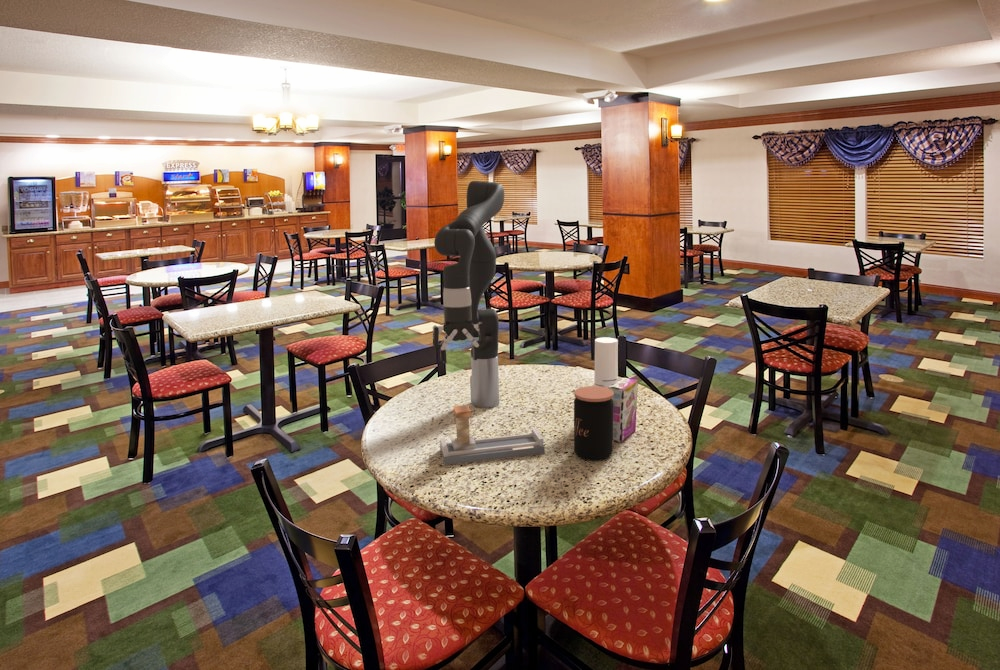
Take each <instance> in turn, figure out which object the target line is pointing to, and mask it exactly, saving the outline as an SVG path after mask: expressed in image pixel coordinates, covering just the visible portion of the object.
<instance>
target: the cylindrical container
mask: <svg viewBox="0 0 1000 670" xmlns="http://www.w3.org/2000/svg"><path fill="white" fill-rule="evenodd" d="M618 345H619V340H618V338H615V337H614V338H613V337H609V336H607V337H604V336H603V337H597V338H595V339H594V385H593V386H598V387H605V388H608V387H609V386H611V385H612V384H614V383H616V382H617V381H618V356H619V355H618V351H619V349H618V348H619V347H618Z"/></svg>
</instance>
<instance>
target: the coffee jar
mask: <svg viewBox="0 0 1000 670" xmlns="http://www.w3.org/2000/svg"><path fill="white" fill-rule="evenodd" d="M573 393H574V397H575V398H574V399H573V400H574V401H573V451H574V453H575V455H576V456H577V457H578V458H579V459H581V460H585V461H590V462H592V461H593V462H599V461H603V460H606V459H608V458H610V456H611V455H612V453H613V451H614V450H613V449H614V447H613V446H614V441H613V410H614V402H613V399H612V398H613V396H614V393H613V391H612V390H610V389H608V388H605V387H598V386H594V385H590V386H589V385H587V386H582V387H577V388H576V389H575V390H574V391H573Z"/></svg>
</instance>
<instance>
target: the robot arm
mask: <svg viewBox="0 0 1000 670" xmlns="http://www.w3.org/2000/svg"><path fill="white" fill-rule="evenodd" d="M467 185H468V186H467V189H466V208H465V209H463V211H461V212H460V213H459V214H458V216H457V217H456V218H455V220H453V221H452V222H450V223H448V224H446V225H444V226H443V227H441V228H440V229H439V230H438V231H437V233H436V235H435V237H434V241H433V242H434V244H433V245H434V249H435V250H436V252H437V253H438V254H439V255H440V256H444V257H453V256H454V257H456V256H457V257H459V259H458V261H457V262H456V263H453V264H448V265H445V266H444V267H443V269H442V276H443V277H442V279H443V280H442V281H443V292H442V293H443V294H442V295H443V296H442V297H443V298H442V299H443V316H444V317H443V321H444V322H443V323H444V324H443V325H442V326H441V325H439V326H437V325H433V326H432V347H433V348H434V349H438V350H439V353H440V354H439V356H440V361H441V362H442V363H443V364H447V350H446V348H447V347H448V345H449V344H450V343H451V342H452V341H453V342H457V341H465V340H467V339H468V340H469V341H470V342H471V344H472V346H471V349H470V362H471V363H470V364H471V376H470V377H469V382H470V383H469V384H470V388H469V389H470V403H471V402H472V403H471V404H472V405H473V406H474V407H477V408H480V407H481V408H482V409H486V408H487V409H488V408H489V407H490V408H493V407H496V406H498V405H499V404H500V383H499V382H500V379H499V352H498V351H499V333H500V332H499V329H500V326H499V323H500V322H499V314H498V313H497V311H496V309H494V308H484V309H482V308H481V309H479V305H480V301H481V298H482V297H483V295H484V293H485V292H486V290H487V288H489V286H490V285H491V283H492V281H493V279H494V277H495V275H496V268H497V267H496V266H497V254H496V250H495V247H494V246H493V243H492V242H491V240H490V238H489V236H488V235H487V233H486V232H485V230H484V229H485V228H484V227H483V226H484V225H485V224H486V223H488V222H489V221H490V220H491V219H492V218H494V217H495V216H496V215H498V214H499V212H500V211H501V210H502V208H503V206H504V202H505V189H504V187H503V185H502V184H501V183H499V182H494V181H482V180H472V181H470V182H469V184H467ZM442 332H444V333H445V335H444V337H443V338H442V341H441V343H439V339H440V338H439V335H441V334H442ZM475 338H478V339H477V340H476V339H475ZM490 408H489V409H490Z"/></svg>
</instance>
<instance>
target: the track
mask: <svg viewBox="0 0 1000 670" xmlns="http://www.w3.org/2000/svg"><path fill="white" fill-rule="evenodd" d="M473 439H474V438H473ZM474 441H475V443H476V449H469V450H461V451H454V450H453V448H452V441H448V442H446V439H445V438H443V437H442V438H440V439H439V447H440V449H439V450H440V453H441V457H442V460H443V464H444V466H451V465H450V464H453V465H459V464H458V463H461V464H467V463H466V462H469V463H475V462H476V463H477V462H486V461H494V460H499V459H501V460H502V459H503V460H504V459H509V458H517V457H526V456H536V455H541V454H545V453H546V451H545V445H544V438H543V436H542V435H541V434H540V432H539V431H538V429H537V428H536V427H535V428H534V427H533V428H531V432H529V433H521V434H509V435H502V436H493V437H492V436H491V437H485V438H483V437H482V438H476V439H474Z"/></svg>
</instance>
